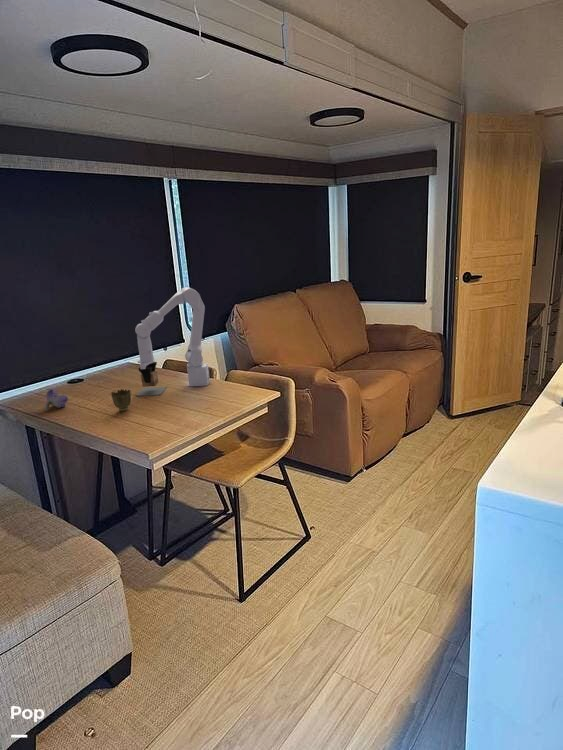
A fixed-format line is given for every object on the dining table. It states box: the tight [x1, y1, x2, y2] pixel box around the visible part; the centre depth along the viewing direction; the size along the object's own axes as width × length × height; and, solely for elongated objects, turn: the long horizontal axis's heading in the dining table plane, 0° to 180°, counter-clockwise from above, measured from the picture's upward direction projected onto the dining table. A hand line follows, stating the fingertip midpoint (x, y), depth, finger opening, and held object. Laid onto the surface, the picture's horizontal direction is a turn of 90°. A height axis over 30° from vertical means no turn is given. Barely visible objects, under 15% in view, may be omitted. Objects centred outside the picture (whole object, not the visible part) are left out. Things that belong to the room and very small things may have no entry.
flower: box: [44, 387, 69, 412], centre depth 200 cm, size 9×9×10 cm
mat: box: [135, 386, 168, 397], centre depth 215 cm, size 11×11×1 cm
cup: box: [110, 388, 132, 413], centre depth 192 cm, size 8×7×8 cm
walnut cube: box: [140, 370, 159, 388], centre depth 213 cm, size 6×6×6 cm
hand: (150, 380), depth 214 cm, fingers closed on walnut cube, 6 cm apart
